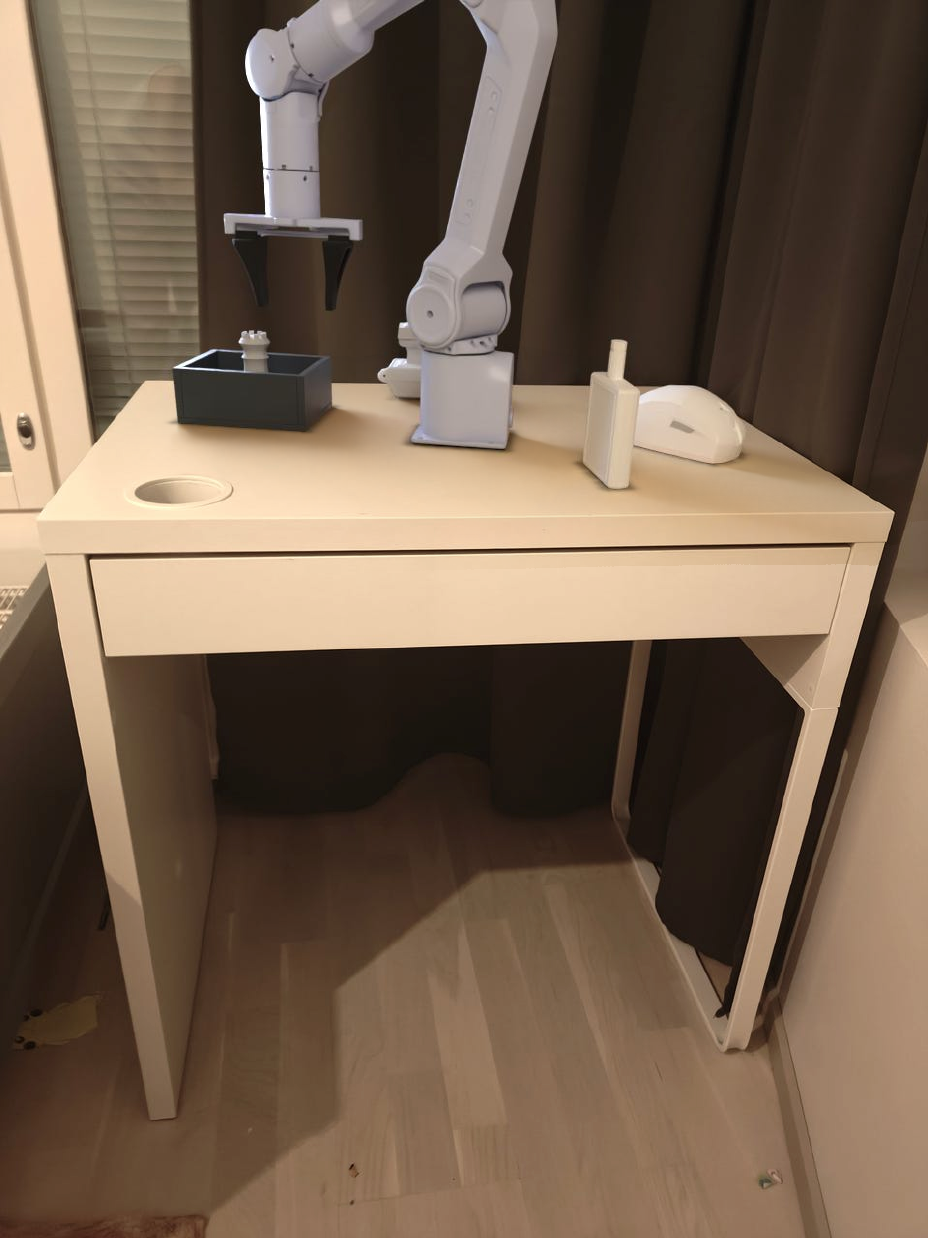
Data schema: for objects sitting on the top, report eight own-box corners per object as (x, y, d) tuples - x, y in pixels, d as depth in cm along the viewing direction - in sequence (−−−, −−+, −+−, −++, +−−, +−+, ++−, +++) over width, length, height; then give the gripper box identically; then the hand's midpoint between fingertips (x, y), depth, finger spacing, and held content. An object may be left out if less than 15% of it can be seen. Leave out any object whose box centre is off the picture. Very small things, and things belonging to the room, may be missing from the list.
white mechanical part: (452, 392, 113) (455, 321, 110) (450, 403, 107) (452, 329, 104) (380, 388, 113) (380, 318, 110) (374, 400, 107) (374, 326, 104)
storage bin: (332, 406, 104) (331, 356, 101) (305, 431, 93) (303, 376, 91) (216, 398, 105) (212, 348, 102) (177, 422, 94) (172, 367, 92)
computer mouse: (720, 467, 88) (731, 402, 85) (607, 439, 95) (614, 379, 93) (750, 455, 92) (762, 393, 89) (641, 429, 100) (648, 371, 97)
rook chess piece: (287, 408, 99) (284, 332, 96) (258, 415, 96) (254, 337, 92) (257, 402, 101) (253, 327, 98) (228, 409, 98) (222, 332, 95)
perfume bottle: (580, 463, 87) (593, 333, 82) (600, 462, 87) (614, 333, 82) (607, 489, 80) (623, 348, 75) (629, 488, 80) (646, 349, 75)
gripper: (210, 166, 91) (220, 308, 97) (352, 173, 90) (353, 316, 96) (233, 167, 98) (241, 300, 104) (366, 174, 97) (366, 307, 103)
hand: (296, 307), depth 100 cm, fingers open, 7 cm apart
